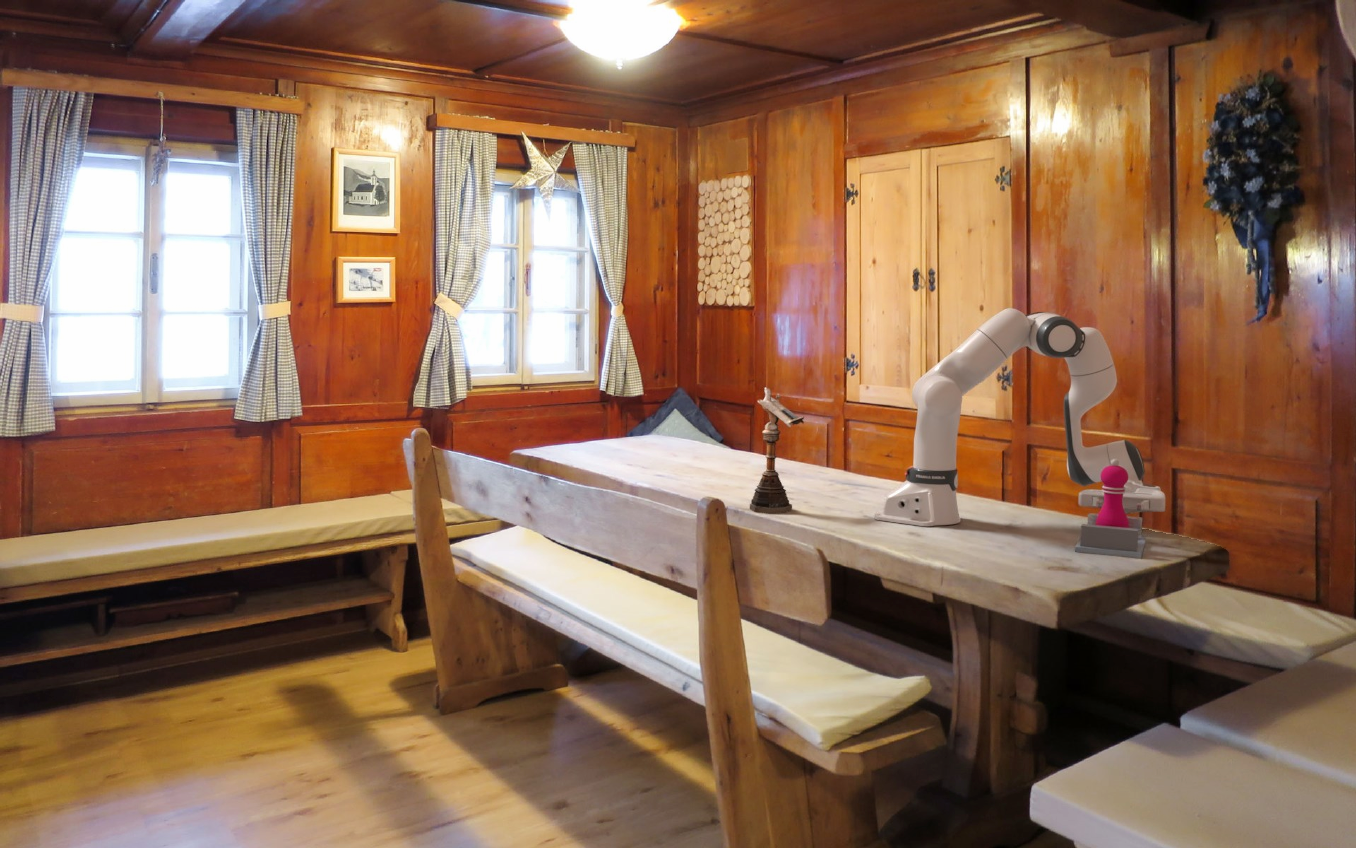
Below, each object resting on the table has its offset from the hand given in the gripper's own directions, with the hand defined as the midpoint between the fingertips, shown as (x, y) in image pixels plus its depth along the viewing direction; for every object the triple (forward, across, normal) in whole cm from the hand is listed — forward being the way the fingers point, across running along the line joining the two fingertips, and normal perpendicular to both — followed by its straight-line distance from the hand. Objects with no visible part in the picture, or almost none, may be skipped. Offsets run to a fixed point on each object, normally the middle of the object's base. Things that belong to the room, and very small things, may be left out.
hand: (1119, 505), depth 252 cm
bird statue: (+7, -88, +6) cm, 88 cm away
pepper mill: (+15, 0, +7) cm, 16 cm away
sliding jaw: (+6, -1, +6) cm, 9 cm away
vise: (+13, -1, +8) cm, 15 cm away
